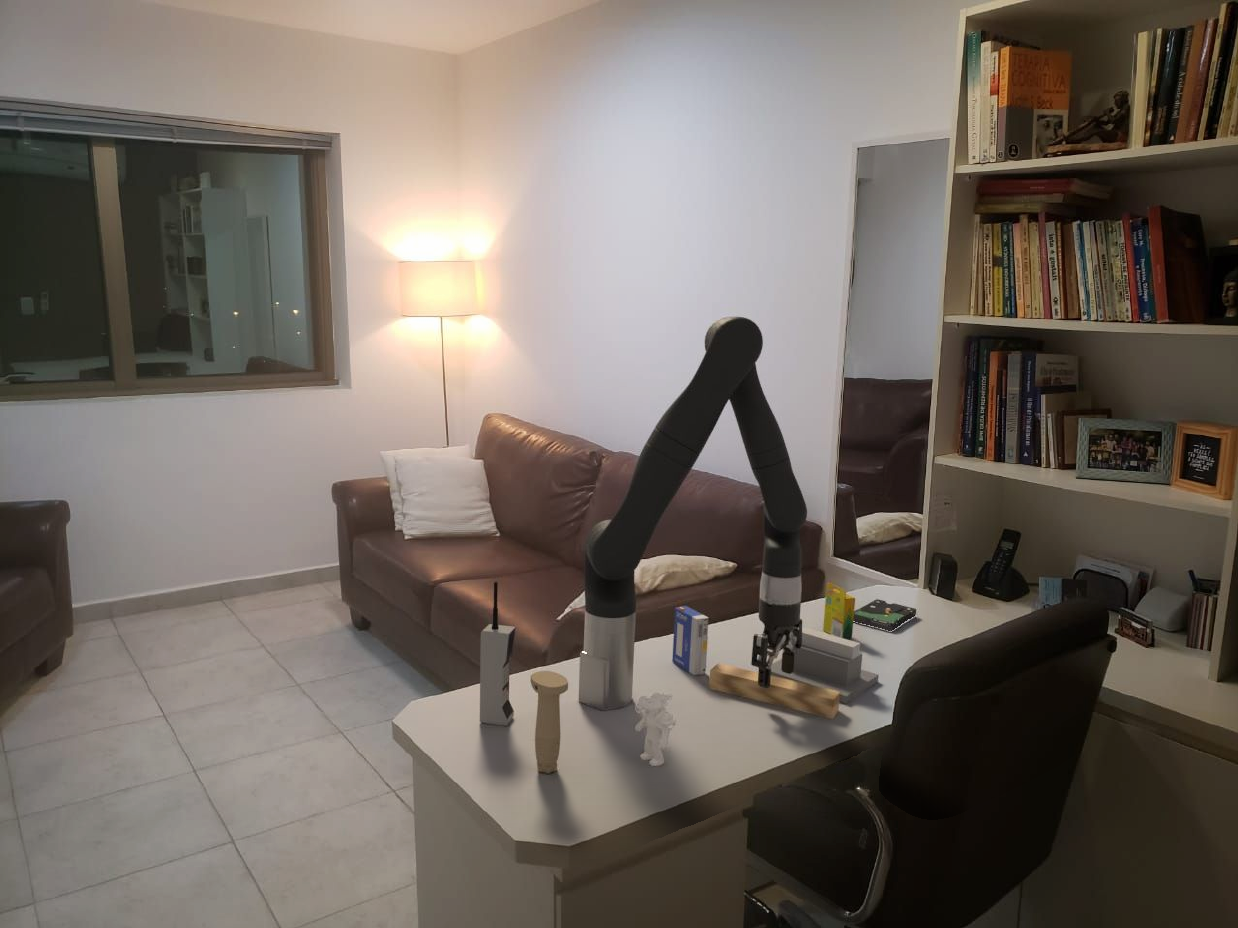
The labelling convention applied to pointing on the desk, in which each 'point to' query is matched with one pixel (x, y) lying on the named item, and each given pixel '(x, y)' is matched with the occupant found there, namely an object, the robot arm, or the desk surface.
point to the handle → (548, 718)
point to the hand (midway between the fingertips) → (775, 679)
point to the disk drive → (883, 614)
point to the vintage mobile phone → (495, 670)
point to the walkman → (690, 640)
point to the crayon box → (838, 612)
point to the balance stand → (828, 665)
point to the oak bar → (775, 691)
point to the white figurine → (655, 726)
